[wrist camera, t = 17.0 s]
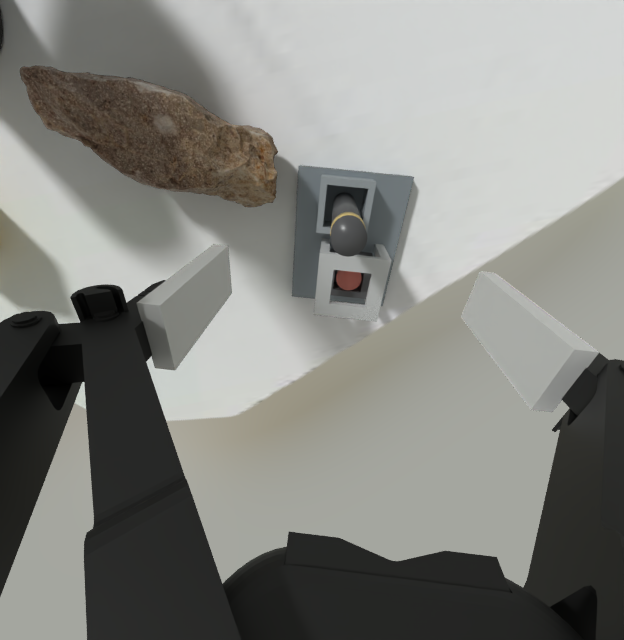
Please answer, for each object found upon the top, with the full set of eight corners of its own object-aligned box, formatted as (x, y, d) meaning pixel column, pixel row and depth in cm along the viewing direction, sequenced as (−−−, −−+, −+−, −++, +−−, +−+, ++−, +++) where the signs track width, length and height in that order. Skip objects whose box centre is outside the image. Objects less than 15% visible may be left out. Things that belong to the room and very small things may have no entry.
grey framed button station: (299, 165, 37) (291, 168, 30) (411, 176, 37) (429, 182, 30) (293, 292, 47) (285, 317, 40) (381, 301, 47) (389, 329, 40)
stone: (128, 166, 39) (27, 173, 26) (118, 77, 34) (-13, 31, 21) (283, 206, 40) (258, 232, 28) (296, 126, 35) (274, 111, 22)
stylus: (333, 190, 37) (332, 217, 22) (356, 192, 37) (371, 221, 22) (331, 214, 39) (327, 255, 24) (353, 216, 39) (364, 259, 24)
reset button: (338, 258, 42) (338, 265, 39) (361, 260, 42) (363, 268, 39) (335, 280, 44) (334, 288, 41) (357, 282, 44) (359, 291, 41)
